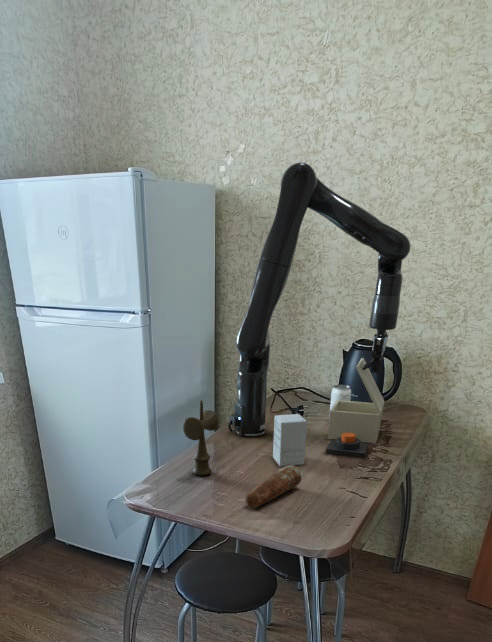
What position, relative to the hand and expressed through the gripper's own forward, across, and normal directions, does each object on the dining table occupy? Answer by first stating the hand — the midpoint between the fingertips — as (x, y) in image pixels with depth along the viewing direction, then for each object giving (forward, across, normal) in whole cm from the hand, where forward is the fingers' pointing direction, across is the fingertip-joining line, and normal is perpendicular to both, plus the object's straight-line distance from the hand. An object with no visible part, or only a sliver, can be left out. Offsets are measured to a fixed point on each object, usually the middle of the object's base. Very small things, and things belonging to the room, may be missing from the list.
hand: (375, 370), depth 174 cm
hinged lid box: (+21, 0, +4) cm, 21 cm away
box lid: (+5, 0, +1) cm, 5 cm away
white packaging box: (+21, -31, +18) cm, 42 cm away
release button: (+18, -17, +4) cm, 25 cm away
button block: (+21, -17, +4) cm, 27 cm away
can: (+21, +13, +10) cm, 27 cm away
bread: (+21, -56, +16) cm, 63 cm away
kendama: (+22, -47, +38) cm, 65 cm away
